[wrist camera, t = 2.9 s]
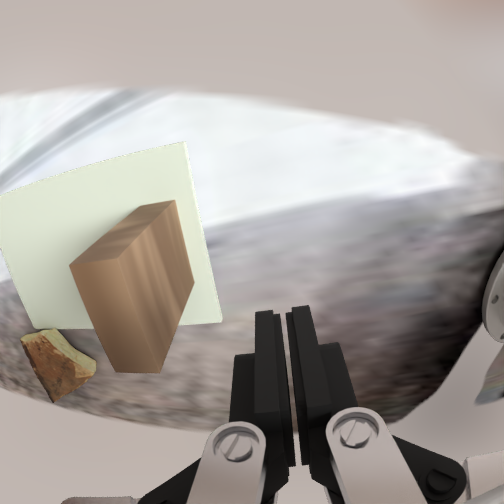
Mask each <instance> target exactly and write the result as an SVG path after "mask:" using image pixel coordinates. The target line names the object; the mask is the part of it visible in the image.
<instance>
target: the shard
mask: <svg viewBox="0 0 504 504" xmlns="http://www.w3.org/2000/svg"><path fill="white" fill-rule="evenodd" d="M20 341H21V343H22V346H23V348H24V350H25V353H26V355H27V357H28V358H29V360H30V364H31V366H32V368H33V370H34V372H35V374H36V375H37V377H38V379H39V381H40V382H41V384H42V385H43V387H44V389H45V390H46V392H47V393H48V395H49V398H50V399H51V401H52V403H54V402H55V401H56V400H58V399H60V398H61V397H62V396H64V395H66V394H68V393H70V392H72V391H73V390H75V389H77V388H79V386H81V385H83V384H84V383H85V382H87V380H88V379H89V378H91V377H92V376H93V375H94V373H95V371H96V361H95V360H93V359H91V358H90V357H88V356H86V355H84V354H83V353H81V352H79V351H78V350H76V349H75V348H74V347H72V346H71V345H70V344H69V343H68V341H67V340H66V339H65V338H64V336H62V335H61V333H59V331H58V330H57V329H56V328H53V329H51V330H42V331H41V332H38V333H32V334H26V335H24V336H23V337H22V338H21V339H20Z"/></svg>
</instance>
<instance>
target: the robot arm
mask: <svg viewBox="0 0 504 504" xmlns="http://www.w3.org/2000/svg"><path fill="white" fill-rule="evenodd" d="M482 320H483V323H484V326H485V328H486V330H487V331H488V333H489V334H490V335H491V336H492V337H493V339H495V340H496V341H498V342H501V343H504V251H503V253H502V254H501V256H500V258H499V259H498V261H497V262H496V265H495V267H494V269H493V271H492V273H491V275H490V278H489V280H488V283H487V286H486V289H485V293H484V297H483V304H482ZM286 322H287V331H288V340H289V349H290V358H291V368H292V377H293V386H294V395H295V404H296V413H297V423H298V432H299V442H300V451H301V462H302V465H309V469H310V474H311V477H312V479H313V480H315V481H316V482H318V483H320V484H322V485H323V486H324V490H325V493H326V496H327V500H328V503H329V504H504V450H501V451H497V452H492V453H488V454H483V455H478V456H473V457H467V458H466V459H465V461H460V462H456V461H454V460H453V459H450V458H447V457H445V456H442V455H440V454H437V453H435V452H432V451H429V450H427V449H424V448H422V447H419V446H417V445H415V444H412V443H410V442H407V441H405V440H403V439H400V438H398V437H396V436H393V435H391V433H390V431H389V429H388V428H387V426H386V424H385V422H384V420H383V419H382V418H381V417H380V415H379V414H377V413H376V412H374V411H373V410H370V409H367V408H362V407H358V404H357V401H356V397H355V394H354V390H353V387H352V383H351V380H350V377H349V373H348V370H347V367H346V363H345V360H344V357H343V354H342V350H341V347H340V345H339V343H338V342H336V343H329V344H323V345H318V341H317V336H316V332H315V328H314V324H313V320H312V316H311V312H310V307H309V305H306V306H299V307H292V312H288V313H286ZM293 466H296V462H295V450H294V439H293V427H292V416H291V406H290V395H289V385H288V375H287V367H286V358H285V350H284V342H283V334H282V326H281V318H280V314H273V310H268V311H259V312H255V353H251V354H240V355H235V358H234V368H233V380H232V392H231V404H230V416H229V423H227V424H223V425H222V426H220V427H218V428H217V429H215V430H214V431H213V432H212V433H211V434H210V436H209V438H208V440H207V442H206V445H205V448H204V451H203V455H202V457H201V458H200V459H198V460H197V461H195V462H194V463H193V464H191V465H190V466H188V467H187V468H185V469H184V470H183V471H181V472H180V473H178V474H177V475H175V476H174V477H172V478H171V479H169V480H168V481H166V482H165V483H163V484H162V485H160V486H159V487H157V488H155V489H154V490H152V491H151V492H149V493H147V494H146V495H145V496H143V497H142V498H139V499H133V498H132V497H131V496H130V497H129V496H128V497H72V498H68V499H66V500H64V501H63V502H62V503H61V504H277V498H278V490H279V489H280V488H282V487H283V486H284V485H285V484H286V483H287V482H288V476H289V467H293Z"/></svg>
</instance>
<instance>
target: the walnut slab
mask: <svg viewBox="0 0 504 504" xmlns="http://www.w3.org/2000/svg"><path fill="white" fill-rule="evenodd" d="M69 267H70V270H71V273H72V275H73V278H74V281H75V283H76V286H77V289H78V291H79V294H80V296H81V299H82V301H83V303H84V306H85V308H86V311H87V313H88V315H89V318H90V320H91V322H92V324H93V327H94V329H95V331H96V333H97V335H98V338H99V340H100V342H101V344H102V346H103V348H104V350H105V352H106V354H107V356H108V358H109V360H110V362H111V364H112V366H113V368H114V370H115V372H121V373H160V371H161V369H162V366H163V363H164V361H165V358H166V355H167V353H168V350H169V347H170V345H171V342H172V340H173V337H174V334H175V332H176V329H177V327H178V324H179V321H180V319H181V316H182V314H183V311H184V309H185V306H186V303H187V301H188V298H189V296H190V293H191V291H192V288H193V286H194V283H195V282H194V278H193V274H192V270H191V266H190V262H189V258H188V253H187V249H186V245H185V241H184V237H183V232H182V228H181V224H180V219H179V215H178V210H177V206H176V201H175V200H169V201H164V202H158V203H153V204H147V205H142V206H139V207H138V208H137V209H135V210H134V211H133V212H132V213H130V214H129V215H128V216H126V217H125V218H124V219H123V220H121V221H120V222H119V223H118V224H116V225H115V226H114V227H113V228H112V229H110V230H109V231H108V232H107V233H105V234H104V235H103V236H102V237H101V238H99V239H98V240H97V241H96V242H95V243H94V244H92V245H91V246H90V247H89V248H88V249H87V250H85V251H84V252H83V253H82V254H81V255H80V256H78V257H77V258H76V259H75V260H74V261H73V262H72V263H71V264H69Z"/></svg>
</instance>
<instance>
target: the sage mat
mask: <svg viewBox="0 0 504 504" xmlns="http://www.w3.org/2000/svg"><path fill="white" fill-rule="evenodd" d="M169 200H175V201H176V206H177V210H178V215H179V219H180V224H181V228H182V232H183V237H184V241H185V245H186V249H187V253H188V258H189V262H190V266H191V270H192V274H193V278H194V282H195V283H194V286H193V288H192V291H191V293H190V296H189V298H188V301H187V303H186V306H185V309H184V311H183V314H182V316H181V319H180V321H179V324H178V325H191V324H205V323H218V322H222V319H223V317H222V312H221V308H220V304H219V300H218V295H217V291H216V286H215V282H214V278H213V273H212V269H211V264H210V260H209V255H208V250H207V246H206V241H205V236H204V232H203V227H202V222H201V217H200V212H199V207H198V202H197V197H196V192H195V187H194V182H193V177H192V172H191V166H190V161H189V156H188V150H187V145H186V141H184V142H179V143H175V144H170V145H165V146H161V147H156V148H152V149H147V150H143V151H139V152H135V153H131V154H127V155H123V156H119V157H115V158H112V159H108V160H104V161H101V162H97V163H94V164H90V165H87V166H83V167H80V168H77V169H74V170H70V171H67V172H64V173H61V174H58V175H55V176H52V177H49V178H46V179H43V180H40V181H37V182H34V183H31V184H29V185H26V186H23V187H20V188H18V189H15V190H12V191H10V192H7V193H5V194H2V195H0V248H1V251H2V253H3V256H4V259H5V262H6V264H7V267H8V269H9V272H10V275H11V277H12V280H13V282H14V284H15V287H16V289H17V292H18V294H19V296H20V298H21V301H22V303H23V305H24V307H25V309H26V312H27V314H28V316H29V318H30V320H31V322H32V324H33V326H34V328H35V329H53V328H56V329H94V327H93V324H92V322H91V320H90V318H89V315H88V313H87V311H86V308H85V306H84V303H83V301H82V299H81V296H80V294H79V291H78V289H77V286H76V283H75V281H74V278H73V275H72V273H71V270H70V267H69V264H71V263H72V262H73V261H74V260H75V259H76V258H77V257H78V256H80V255H81V254H82V253H83V252H84V251H85V250H87V249H88V248H89V247H90V246H91V245H92V244H94V243H95V242H96V241H97V240H98V239H99V238H101V237H102V236H103V235H104V234H105V233H107V232H108V231H109V230H110V229H112V228H113V227H114V226H115V225H116V224H118V223H119V222H120V221H121V220H123V219H124V218H125V217H126V216H128V215H129V214H130V213H132V212H133V211H134V210H135V209H137V208H138V207H139V206H142V205H147V204H153V203H158V202H164V201H169Z"/></svg>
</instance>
